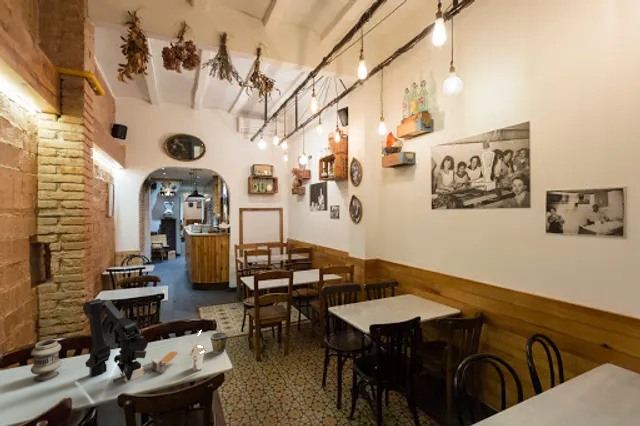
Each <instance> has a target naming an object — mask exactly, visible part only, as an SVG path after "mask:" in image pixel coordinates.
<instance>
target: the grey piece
mask: <svg viewBox="0 0 640 426" xmlns="http://www.w3.org/2000/svg"><path fill="white" fill-rule="evenodd" d="M159 361H160V359H158V358H157V357H155V358H152V359H151V362H149V363H146V364H145V365H141V366H142V367H143V376H142V378H143V379H144V378H145V379H146V378H148V377H151V376H154V374H157V376H159V375H163V374H166V372H165V365H164V366H160V365H158V362H159ZM119 375H120V377H121V376H123V374H122V373H120V374H119ZM138 379H141V377H138ZM133 380H134V381H135V382H134V381H132V380H130V381H128V383H132V384H133V383H138V382H136V379H133Z"/></svg>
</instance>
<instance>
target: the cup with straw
mask: <svg viewBox="0 0 640 426" xmlns="http://www.w3.org/2000/svg"><path fill="white" fill-rule="evenodd" d="M201 333H202V329H200V331H199V332H198V333H197V334H196V335H197V337H196V344H194V345H193V346H192V347H191V349H190V350H189V352H188V355H189V356H190V359H191V365H192V370H193V371H196V373H199V372H201V371H202V370H203V369H202V368H203V362H204V356H205V354H206V352H207V350H206V348H205V347H204V345H202V344H201V343H199V336H200V334H201Z"/></svg>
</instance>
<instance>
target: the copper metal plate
mask: <svg viewBox="0 0 640 426" xmlns="http://www.w3.org/2000/svg"><path fill="white" fill-rule="evenodd" d="M177 355H178V351H170V352H168V353H167V354H166V355H165V356H164V357H162V359H161V360H160V359H159V362H158V365H160V366H164V367H165V366H166V365H167V364H169V363H170V362H171V361H172V360H173V359H174V358H176V356H177Z"/></svg>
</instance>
